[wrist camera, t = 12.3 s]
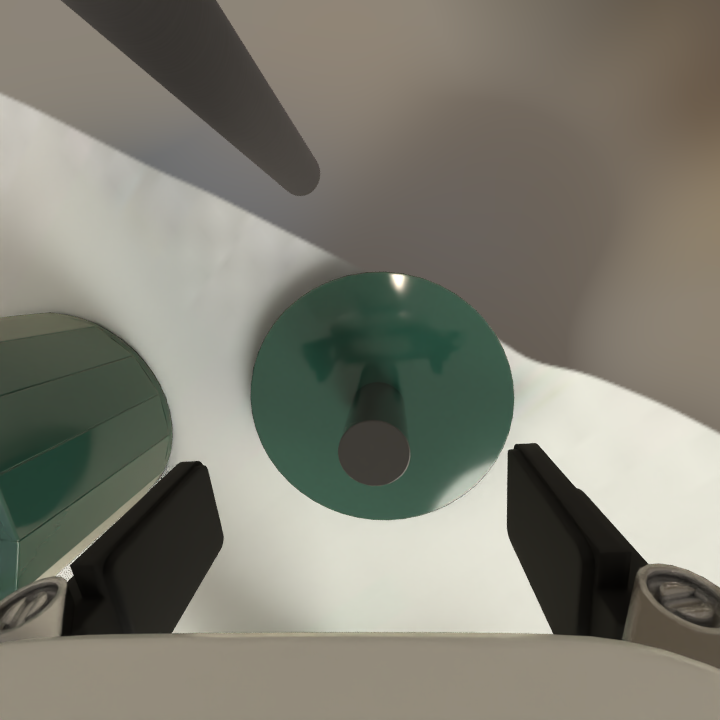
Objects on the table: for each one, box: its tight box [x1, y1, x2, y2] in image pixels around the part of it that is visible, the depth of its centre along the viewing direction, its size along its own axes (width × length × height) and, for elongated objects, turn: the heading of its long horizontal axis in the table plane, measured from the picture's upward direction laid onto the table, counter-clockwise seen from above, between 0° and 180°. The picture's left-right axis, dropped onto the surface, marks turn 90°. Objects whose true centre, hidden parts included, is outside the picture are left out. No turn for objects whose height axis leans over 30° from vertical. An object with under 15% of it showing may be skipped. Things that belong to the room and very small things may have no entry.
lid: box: [251, 272, 514, 520], centre depth 17 cm, size 15×15×6 cm
